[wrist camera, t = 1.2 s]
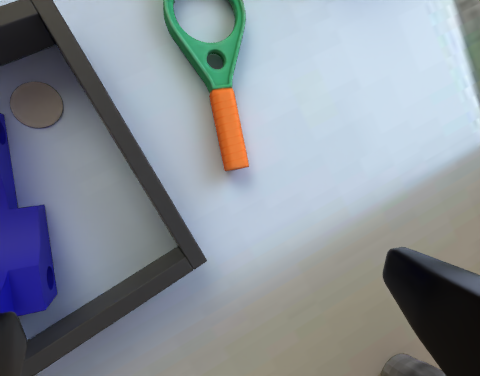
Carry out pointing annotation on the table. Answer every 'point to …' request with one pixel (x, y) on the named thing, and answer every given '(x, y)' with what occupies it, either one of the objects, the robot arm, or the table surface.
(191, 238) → the dark grey square tray
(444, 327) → the robot arm
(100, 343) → the table surface
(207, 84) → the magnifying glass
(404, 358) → the beverage cup
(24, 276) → the blue u-shaped bracket
